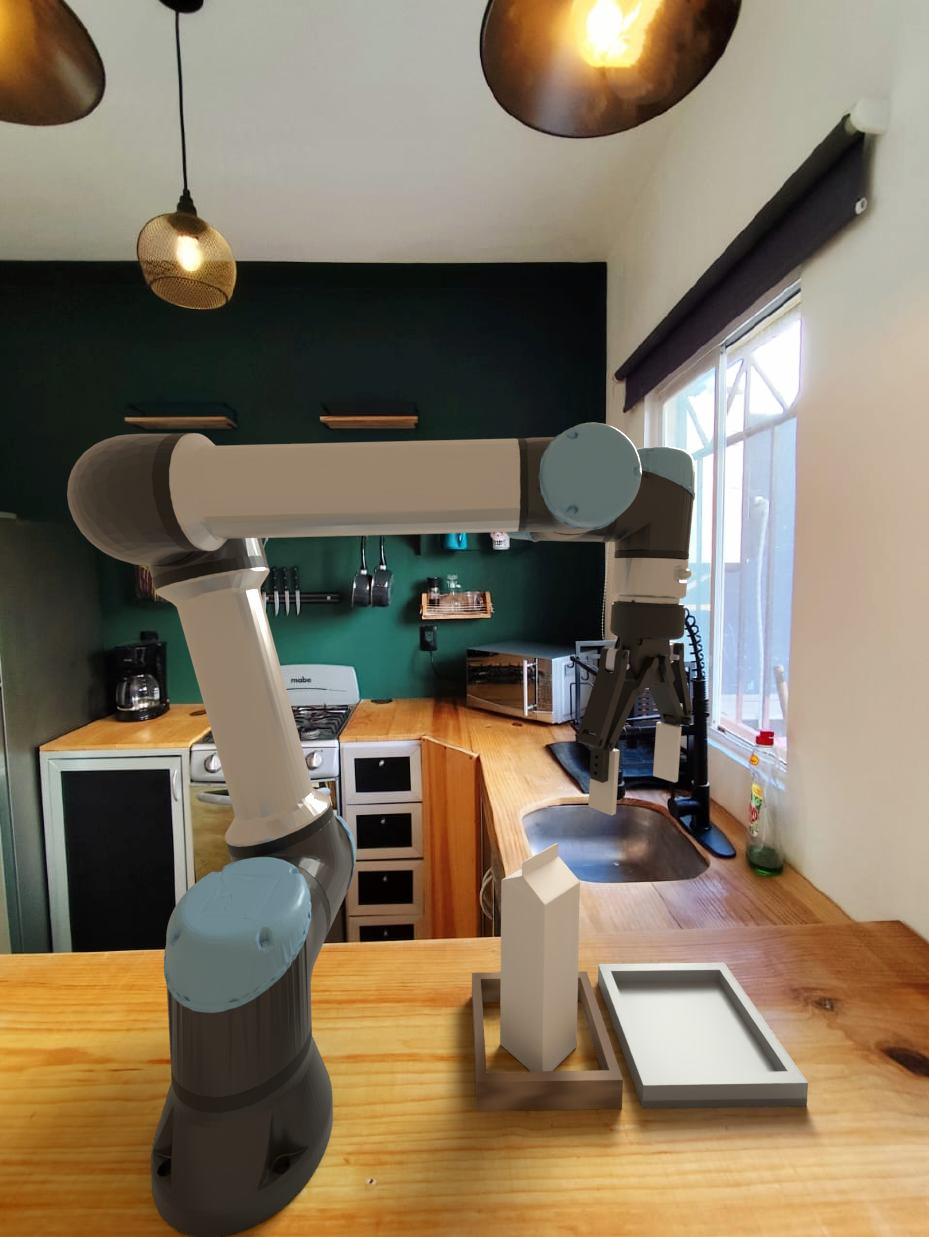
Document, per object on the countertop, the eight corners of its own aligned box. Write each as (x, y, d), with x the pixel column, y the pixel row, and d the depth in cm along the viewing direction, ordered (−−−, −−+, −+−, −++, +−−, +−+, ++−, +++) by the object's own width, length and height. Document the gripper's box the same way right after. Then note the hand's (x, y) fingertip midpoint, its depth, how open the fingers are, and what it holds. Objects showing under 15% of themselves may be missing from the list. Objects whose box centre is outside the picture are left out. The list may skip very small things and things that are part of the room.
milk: (577, 1047, 58) (582, 853, 56) (541, 1083, 54) (546, 874, 52) (533, 1013, 62) (537, 832, 60) (498, 1044, 58) (501, 850, 56)
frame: (476, 1111, 51) (476, 1082, 51) (471, 995, 65) (472, 972, 65) (622, 1108, 51) (622, 1079, 51) (586, 994, 65) (586, 971, 65)
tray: (642, 1108, 51) (643, 1085, 51) (598, 981, 67) (598, 963, 67) (806, 1105, 52) (808, 1082, 51) (723, 980, 67) (724, 962, 67)
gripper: (617, 603, 45) (603, 842, 47) (730, 601, 63) (717, 776, 64) (547, 598, 51) (537, 812, 53) (668, 597, 68) (658, 759, 70)
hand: (636, 793), depth 58 cm, fingers open, 13 cm apart
